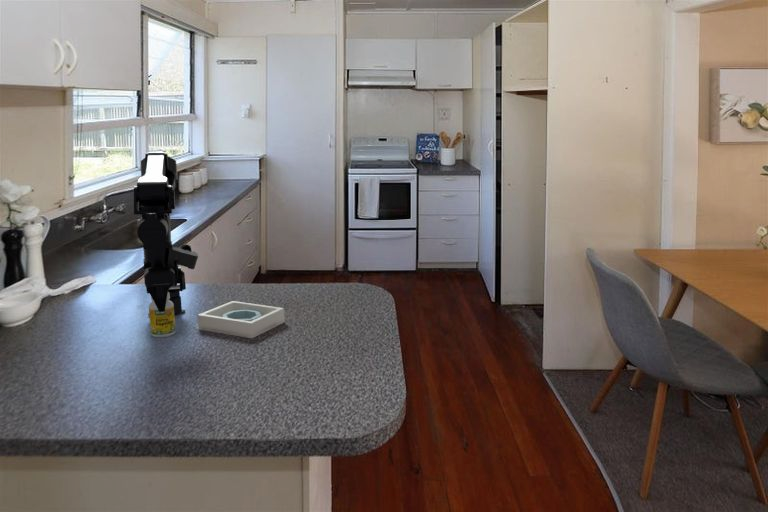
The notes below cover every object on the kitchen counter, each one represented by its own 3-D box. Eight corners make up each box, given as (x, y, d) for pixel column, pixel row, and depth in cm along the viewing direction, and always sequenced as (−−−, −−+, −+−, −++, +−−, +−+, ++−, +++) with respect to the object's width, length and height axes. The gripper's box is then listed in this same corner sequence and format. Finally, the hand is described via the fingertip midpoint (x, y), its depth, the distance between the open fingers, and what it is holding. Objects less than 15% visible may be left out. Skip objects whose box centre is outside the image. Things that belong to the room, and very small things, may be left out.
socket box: (198, 329, 152) (197, 314, 151) (233, 314, 163) (232, 300, 163) (252, 338, 146) (251, 323, 145) (284, 322, 157) (283, 308, 156)
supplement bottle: (171, 328, 152) (169, 288, 150) (178, 335, 148) (176, 294, 146) (148, 333, 149) (144, 292, 147) (154, 339, 145) (151, 297, 143)
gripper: (198, 243, 138) (202, 314, 141) (191, 228, 155) (195, 292, 158) (141, 246, 134) (147, 319, 138) (141, 231, 151) (146, 296, 155)
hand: (161, 306), depth 147 cm, fingers open, 9 cm apart
